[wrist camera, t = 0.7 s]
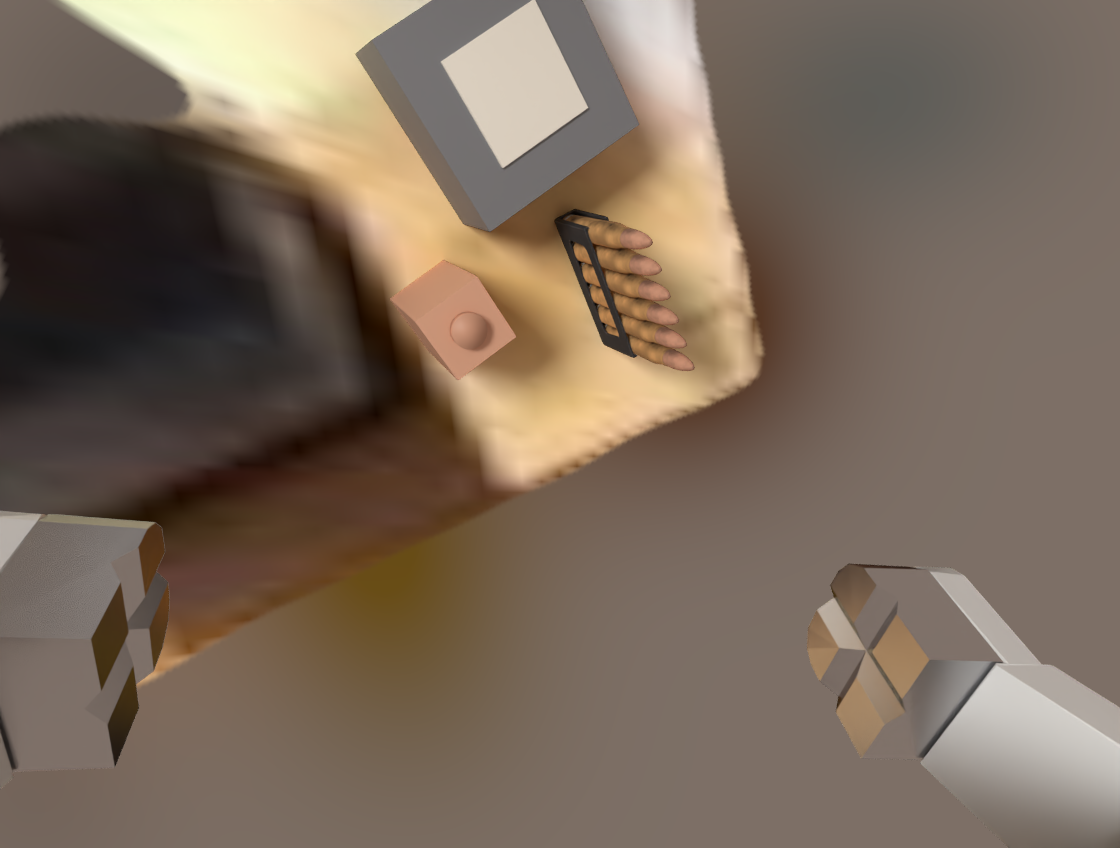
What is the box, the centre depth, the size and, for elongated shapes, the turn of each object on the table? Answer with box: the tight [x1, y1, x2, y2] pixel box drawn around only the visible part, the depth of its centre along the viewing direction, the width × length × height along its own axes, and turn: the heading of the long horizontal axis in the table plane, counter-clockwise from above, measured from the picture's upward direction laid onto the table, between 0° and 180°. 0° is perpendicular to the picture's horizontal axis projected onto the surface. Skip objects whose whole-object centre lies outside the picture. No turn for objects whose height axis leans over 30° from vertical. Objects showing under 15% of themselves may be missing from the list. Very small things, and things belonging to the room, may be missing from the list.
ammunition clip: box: [555, 209, 694, 371], centre depth 50 cm, size 11×2×12 cm, turn 24°
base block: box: [356, 0, 639, 232], centre depth 45 cm, size 12×12×6 cm
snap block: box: [390, 260, 516, 380], centre depth 47 cm, size 5×5×9 cm
